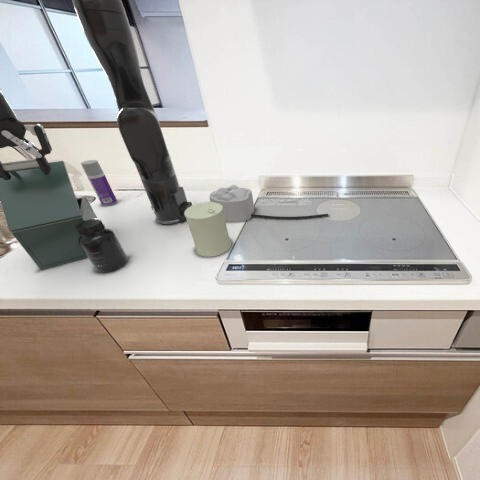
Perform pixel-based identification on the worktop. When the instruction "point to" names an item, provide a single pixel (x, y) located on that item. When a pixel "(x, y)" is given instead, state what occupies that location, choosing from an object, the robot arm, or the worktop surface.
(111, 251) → the supplement bottle
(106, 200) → the container
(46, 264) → the trash bin
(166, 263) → the worktop surface
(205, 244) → the can
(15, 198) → the bin lid
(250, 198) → the lumpy-topped squat cylinder
